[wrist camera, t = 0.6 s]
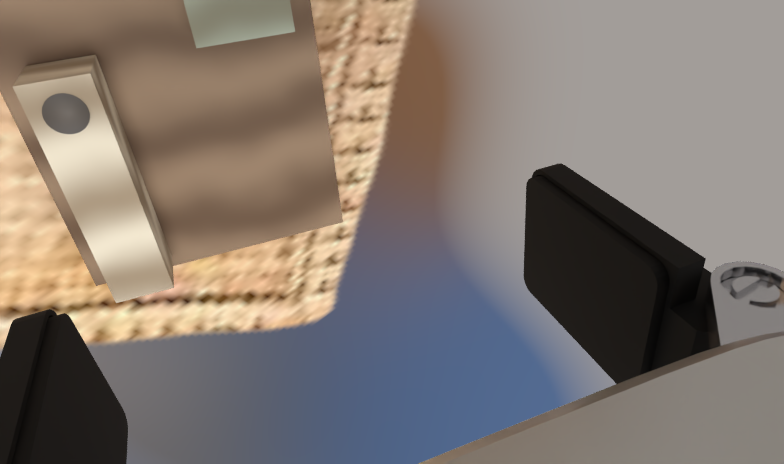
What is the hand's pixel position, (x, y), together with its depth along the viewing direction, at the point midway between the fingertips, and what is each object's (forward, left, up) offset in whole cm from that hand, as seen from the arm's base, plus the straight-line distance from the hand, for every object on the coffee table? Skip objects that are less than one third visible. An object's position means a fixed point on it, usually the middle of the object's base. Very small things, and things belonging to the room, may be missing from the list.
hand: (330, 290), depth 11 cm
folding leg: (+10, -9, -31) cm, 33 cm away
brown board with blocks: (+8, -3, -33) cm, 34 cm away
